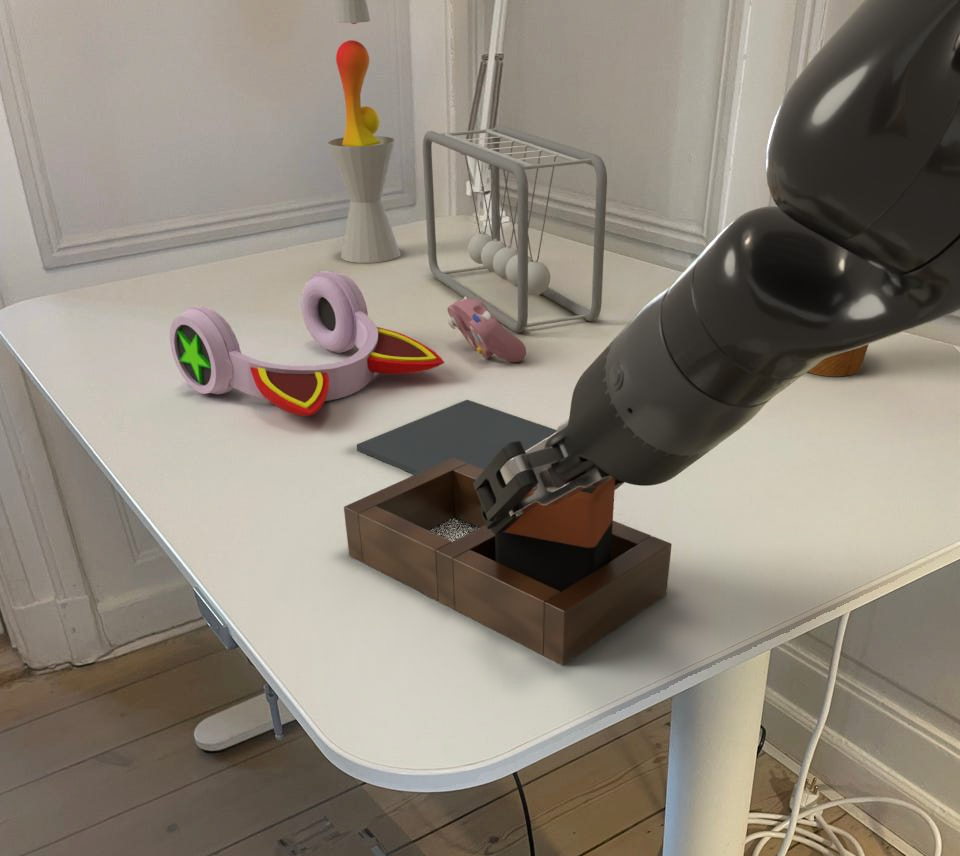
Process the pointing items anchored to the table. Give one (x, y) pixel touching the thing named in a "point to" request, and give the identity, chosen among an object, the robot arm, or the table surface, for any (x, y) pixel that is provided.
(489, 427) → the mat
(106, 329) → the table surface
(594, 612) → the tray
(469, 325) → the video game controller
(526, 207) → the newton's cradle
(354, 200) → the lava lamp
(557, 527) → the battery
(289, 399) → the headphones
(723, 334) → the robot arm
